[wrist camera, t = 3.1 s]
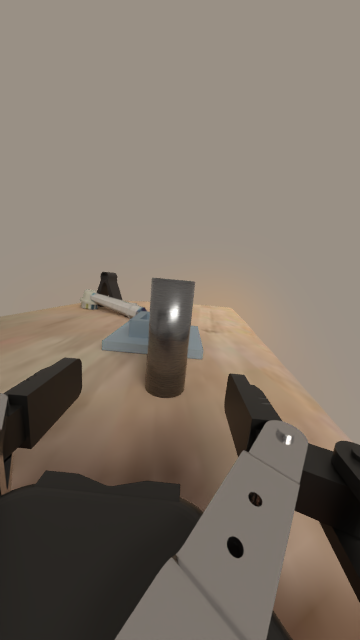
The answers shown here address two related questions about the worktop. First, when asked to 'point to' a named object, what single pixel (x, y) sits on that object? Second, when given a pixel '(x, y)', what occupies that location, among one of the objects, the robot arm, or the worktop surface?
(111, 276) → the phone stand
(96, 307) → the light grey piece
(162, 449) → the worktop surface
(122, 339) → the block
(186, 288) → the steel axle
